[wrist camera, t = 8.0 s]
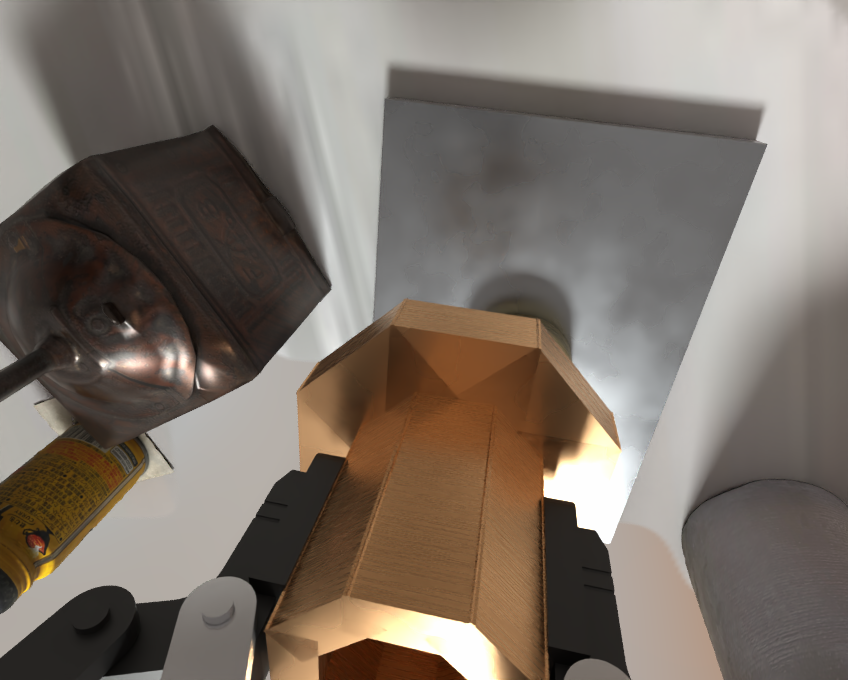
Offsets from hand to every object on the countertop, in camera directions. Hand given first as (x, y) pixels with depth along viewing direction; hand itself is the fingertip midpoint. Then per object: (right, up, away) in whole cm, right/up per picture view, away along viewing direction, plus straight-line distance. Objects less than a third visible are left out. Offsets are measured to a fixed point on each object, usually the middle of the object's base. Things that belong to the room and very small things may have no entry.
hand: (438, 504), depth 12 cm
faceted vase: (+1, +1, +2) cm, 3 cm away
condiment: (-24, -3, +26) cm, 35 cm away
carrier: (+5, +3, +16) cm, 17 cm away
